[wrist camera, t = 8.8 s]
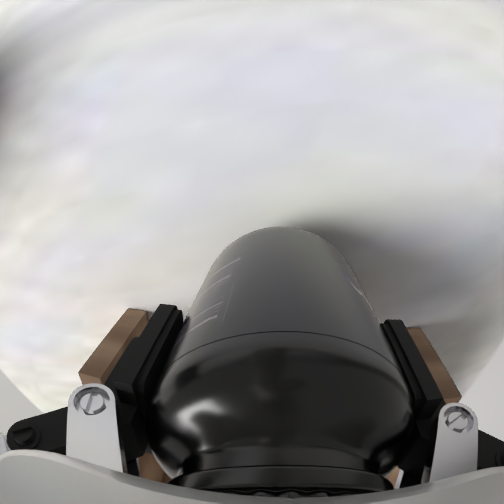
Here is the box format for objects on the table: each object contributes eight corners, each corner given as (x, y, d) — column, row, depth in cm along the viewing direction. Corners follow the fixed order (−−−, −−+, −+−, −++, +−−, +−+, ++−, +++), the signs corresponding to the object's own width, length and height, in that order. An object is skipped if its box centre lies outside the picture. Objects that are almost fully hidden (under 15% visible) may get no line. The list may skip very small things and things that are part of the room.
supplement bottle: (380, 265, 13) (518, 511, 2) (303, 367, 16) (315, 591, 5) (246, 191, 13) (110, 509, 1) (184, 315, 15) (86, 549, 4)
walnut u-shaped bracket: (128, 308, 17) (78, 372, 11) (420, 328, 16) (461, 396, 10) (161, 450, 22) (143, 504, 17) (357, 464, 21) (365, 519, 16)
